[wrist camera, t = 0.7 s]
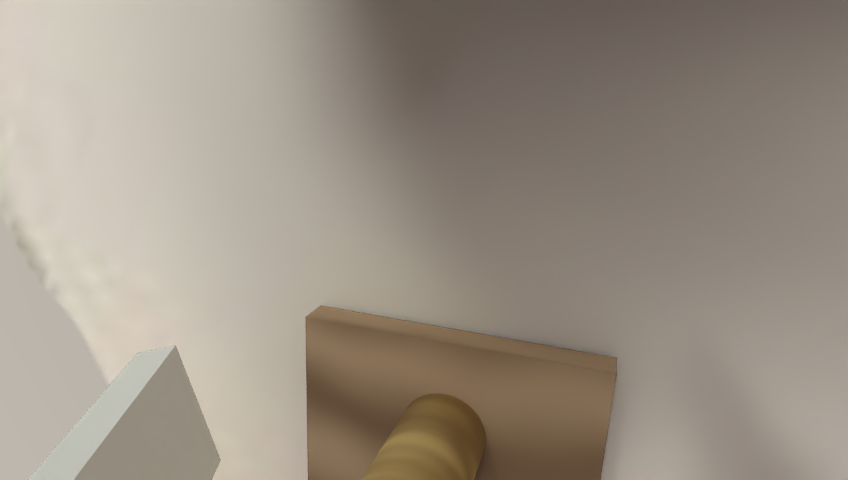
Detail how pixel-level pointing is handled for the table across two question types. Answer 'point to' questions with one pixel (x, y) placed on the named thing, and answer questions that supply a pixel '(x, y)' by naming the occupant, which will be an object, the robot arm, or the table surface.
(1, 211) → the table surface
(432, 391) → the board
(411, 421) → the peg
